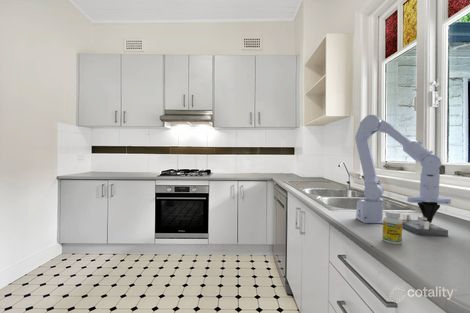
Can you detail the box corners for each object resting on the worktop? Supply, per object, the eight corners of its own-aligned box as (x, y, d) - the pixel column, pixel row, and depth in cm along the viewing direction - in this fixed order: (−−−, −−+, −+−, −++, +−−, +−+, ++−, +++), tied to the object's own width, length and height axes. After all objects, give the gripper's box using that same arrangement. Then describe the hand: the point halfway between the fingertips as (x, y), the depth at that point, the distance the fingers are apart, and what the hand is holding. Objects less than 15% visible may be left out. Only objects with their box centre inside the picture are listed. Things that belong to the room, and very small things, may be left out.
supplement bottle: (398, 240, 84) (400, 211, 84) (404, 245, 79) (405, 214, 78) (380, 237, 85) (381, 209, 85) (384, 243, 80) (385, 213, 80)
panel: (417, 234, 90) (417, 221, 90) (395, 224, 103) (396, 212, 103) (447, 236, 89) (448, 222, 89) (422, 225, 102) (422, 213, 102)
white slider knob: (422, 224, 95) (422, 217, 95) (417, 222, 97) (418, 216, 97) (426, 224, 95) (427, 217, 95) (422, 222, 97) (422, 216, 97)
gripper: (416, 187, 92) (415, 224, 92) (458, 188, 91) (456, 226, 92) (404, 184, 99) (403, 219, 99) (443, 185, 98) (441, 220, 99)
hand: (427, 222), depth 96 cm, fingers closed
